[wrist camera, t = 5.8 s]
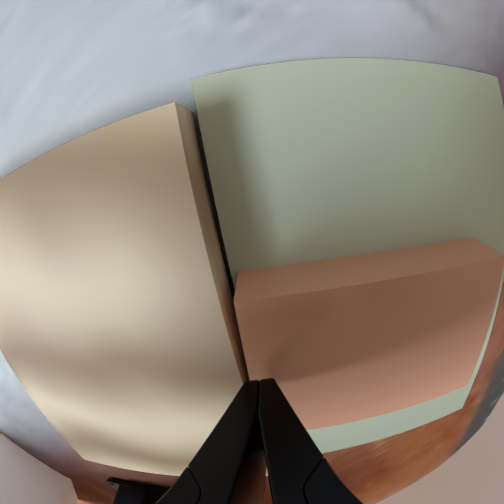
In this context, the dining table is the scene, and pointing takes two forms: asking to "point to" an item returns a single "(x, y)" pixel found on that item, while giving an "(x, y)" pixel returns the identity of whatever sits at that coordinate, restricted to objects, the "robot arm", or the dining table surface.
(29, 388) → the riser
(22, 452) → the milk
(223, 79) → the mat
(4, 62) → the dining table surface
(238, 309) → the tile
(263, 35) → the dining table surface
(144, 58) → the dining table surface
